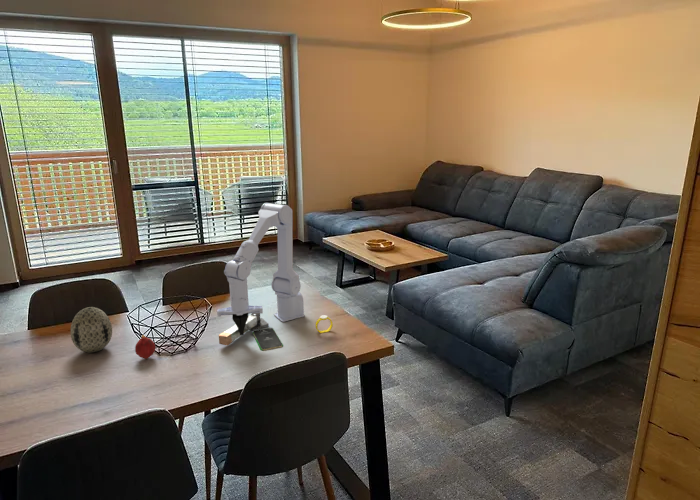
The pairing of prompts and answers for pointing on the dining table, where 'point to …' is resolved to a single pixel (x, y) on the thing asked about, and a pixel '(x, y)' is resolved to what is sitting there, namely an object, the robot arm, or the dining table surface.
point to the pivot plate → (260, 325)
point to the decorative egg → (91, 330)
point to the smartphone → (267, 339)
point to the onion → (145, 347)
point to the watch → (324, 317)
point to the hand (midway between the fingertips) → (241, 333)
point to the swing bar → (233, 332)
